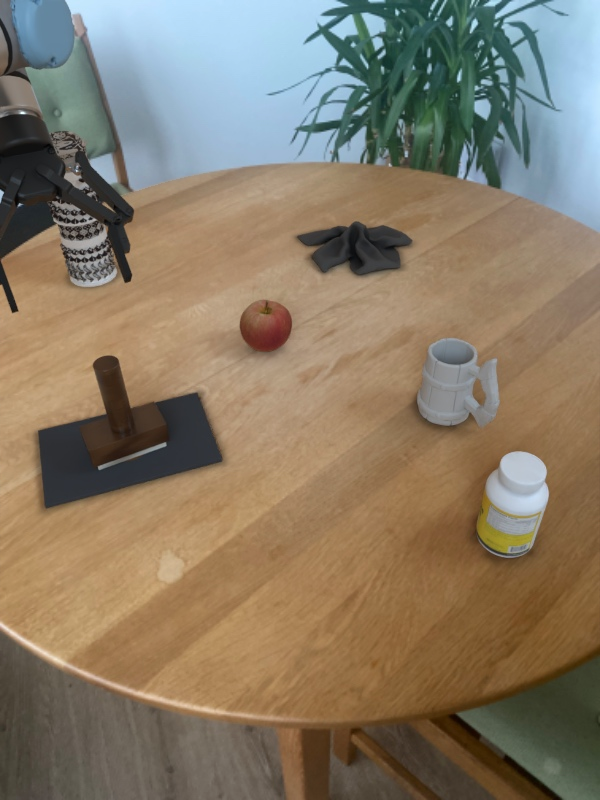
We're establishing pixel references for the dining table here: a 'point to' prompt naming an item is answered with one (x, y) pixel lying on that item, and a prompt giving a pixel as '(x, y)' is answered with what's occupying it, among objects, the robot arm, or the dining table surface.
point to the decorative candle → (81, 225)
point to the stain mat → (77, 478)
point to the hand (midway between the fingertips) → (73, 294)
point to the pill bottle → (513, 505)
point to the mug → (456, 384)
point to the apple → (265, 325)
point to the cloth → (357, 247)
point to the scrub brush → (121, 421)
